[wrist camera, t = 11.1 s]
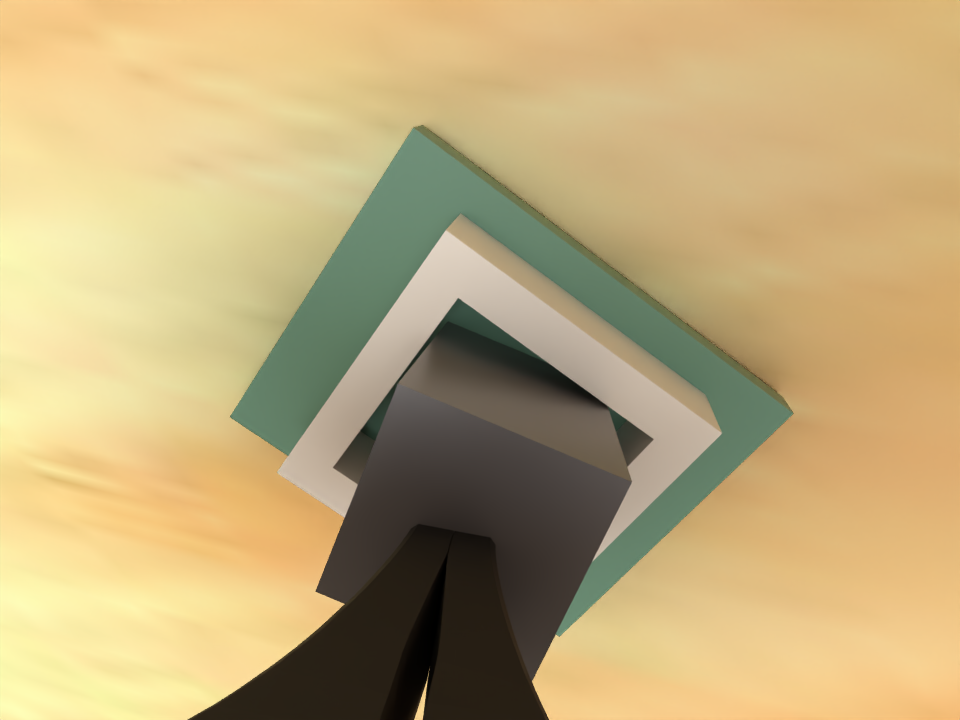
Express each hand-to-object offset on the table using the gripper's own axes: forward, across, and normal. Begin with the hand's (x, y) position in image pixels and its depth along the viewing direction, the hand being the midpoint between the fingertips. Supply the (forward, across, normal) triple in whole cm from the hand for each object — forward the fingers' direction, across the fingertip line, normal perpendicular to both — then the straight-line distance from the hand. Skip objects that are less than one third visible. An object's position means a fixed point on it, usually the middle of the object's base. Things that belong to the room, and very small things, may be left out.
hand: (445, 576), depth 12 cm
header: (+7, 0, 0) cm, 7 cm away
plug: (+6, 0, 0) cm, 6 cm away
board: (+7, 0, 0) cm, 7 cm away
